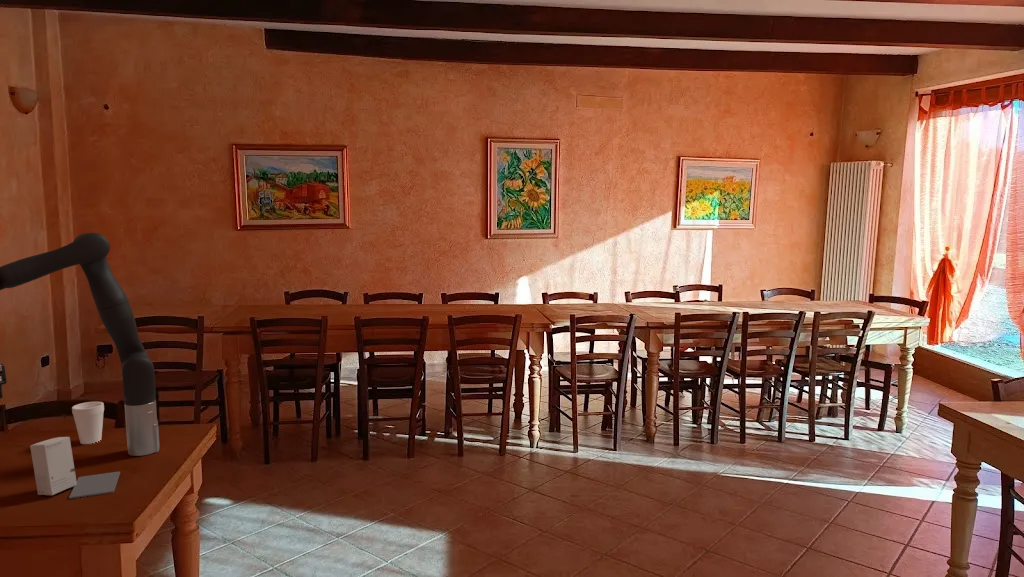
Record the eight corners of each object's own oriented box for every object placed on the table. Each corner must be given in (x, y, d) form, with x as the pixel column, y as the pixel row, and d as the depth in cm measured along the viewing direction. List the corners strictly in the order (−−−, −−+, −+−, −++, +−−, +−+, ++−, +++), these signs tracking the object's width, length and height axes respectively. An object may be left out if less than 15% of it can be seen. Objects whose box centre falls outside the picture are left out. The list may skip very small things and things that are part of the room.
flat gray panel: (120, 472, 212) (120, 471, 212) (113, 492, 197) (113, 491, 197) (78, 478, 207) (78, 477, 207) (68, 499, 193) (68, 497, 193)
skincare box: (52, 496, 194) (43, 445, 192) (36, 495, 195) (27, 445, 194) (78, 484, 202) (70, 435, 200) (63, 484, 203) (55, 435, 202)
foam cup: (72, 440, 241) (69, 405, 239) (102, 434, 247) (99, 400, 245) (78, 447, 234) (75, 411, 232) (109, 441, 240) (106, 405, 238)
